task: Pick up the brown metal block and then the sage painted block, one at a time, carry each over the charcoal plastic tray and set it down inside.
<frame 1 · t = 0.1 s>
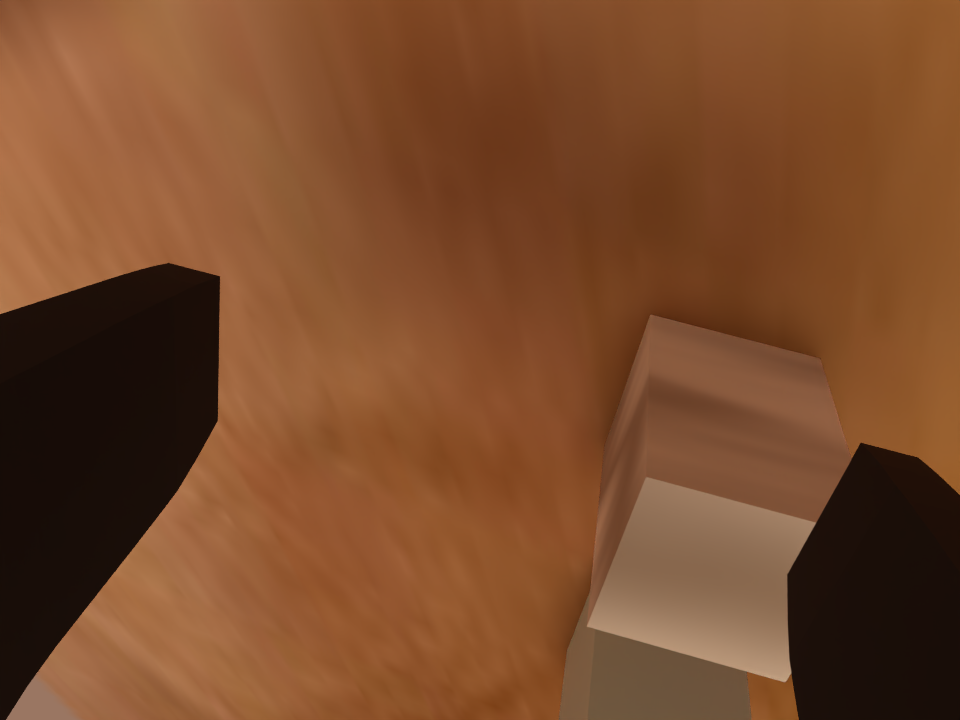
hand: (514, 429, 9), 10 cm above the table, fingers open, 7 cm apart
sage block: (648, 626, 25), on the table
brown metal block: (705, 404, 20), on the table
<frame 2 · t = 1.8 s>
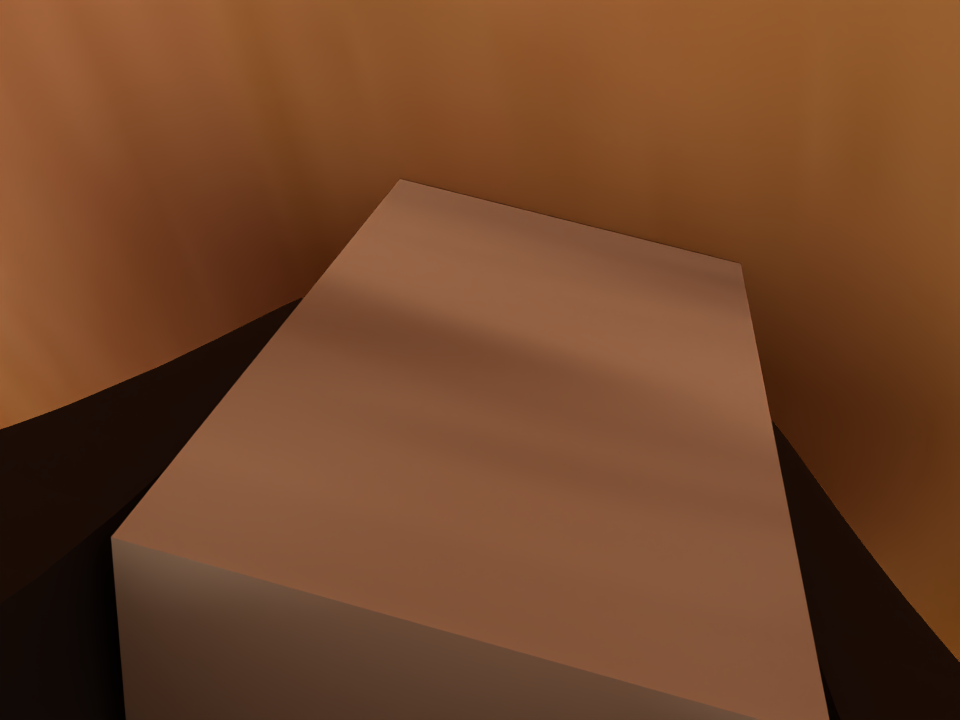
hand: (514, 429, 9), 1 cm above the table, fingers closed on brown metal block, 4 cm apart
brown metal block: (530, 364, 11), on the table, touching gripper
when the fingers open (4 cm above the table, at t = 5.4 s): brown metal block drops 1 cm, resting on tray.
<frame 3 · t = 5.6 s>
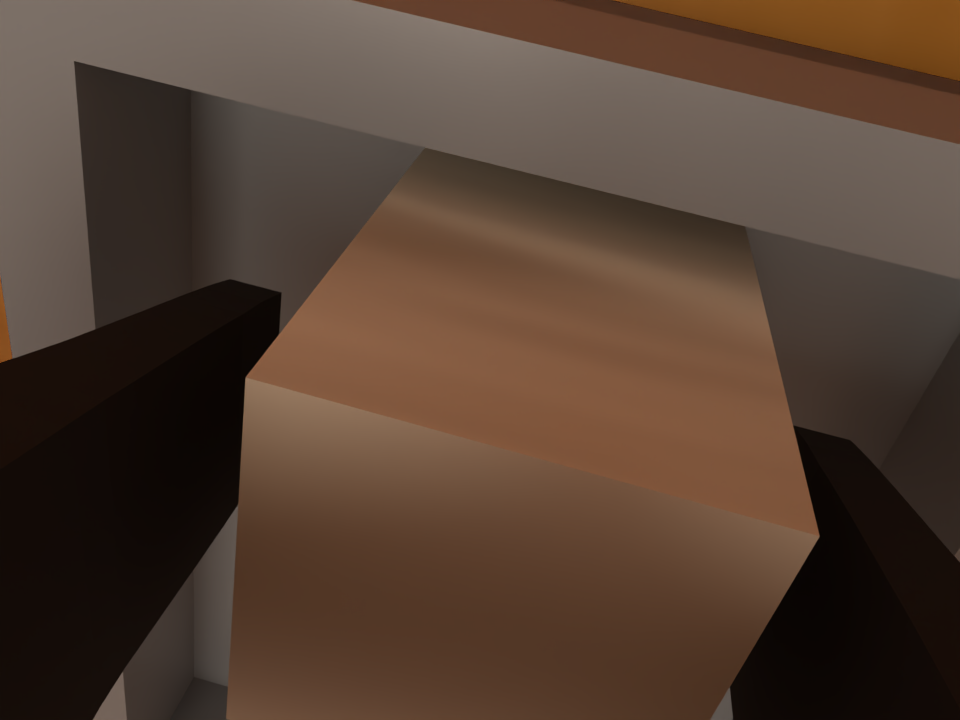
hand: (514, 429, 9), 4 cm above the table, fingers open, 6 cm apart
tray: (500, 476, 15), on the table
brown metal block: (550, 303, 12), point 1 cm above the table, touching tray
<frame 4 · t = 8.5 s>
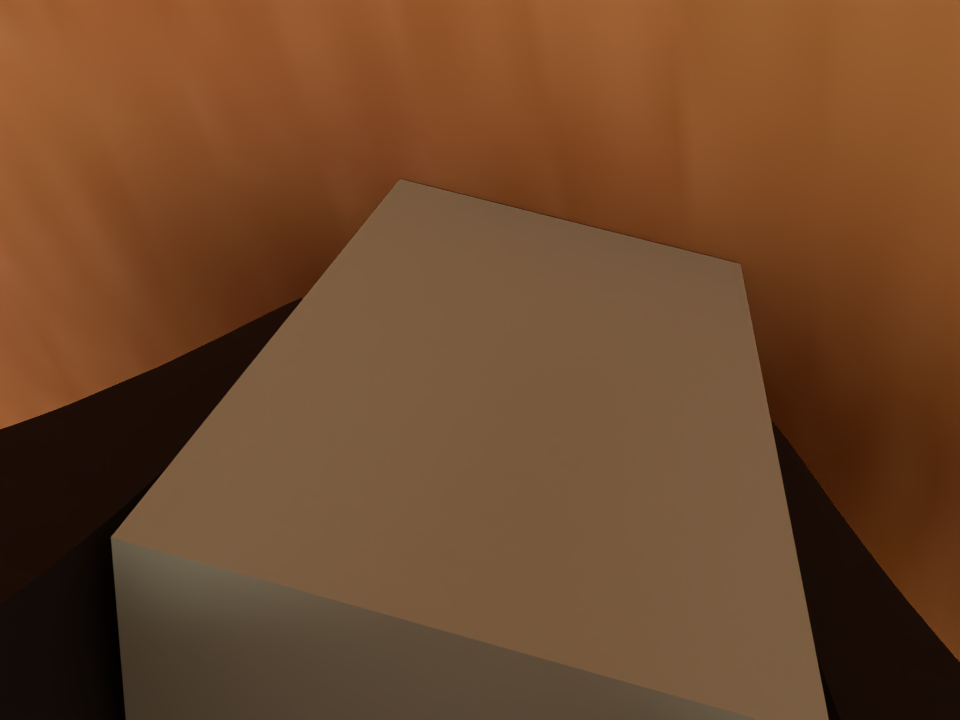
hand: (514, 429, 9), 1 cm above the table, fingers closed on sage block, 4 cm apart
sage block: (530, 364, 11), on the table, touching gripper
when the fingers open (4 cm above the table, at t = 12.1 s): sage block drops 1 cm, point 1 cm above the table.
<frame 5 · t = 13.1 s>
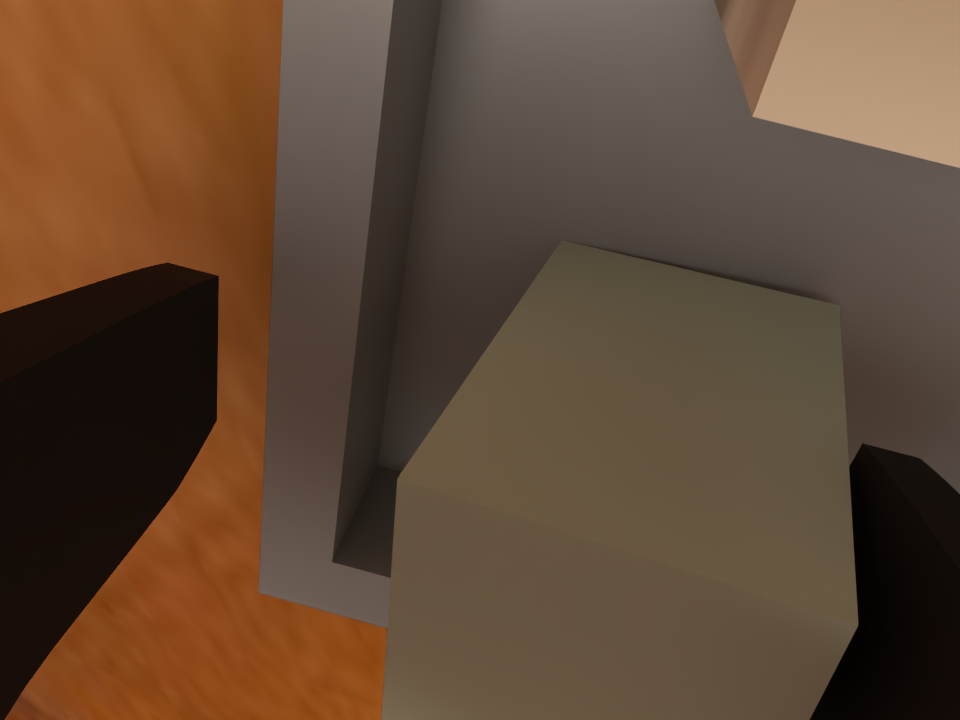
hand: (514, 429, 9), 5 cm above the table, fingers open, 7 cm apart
sage block: (664, 386, 13), point 1 cm above the table, tilted 8°, touching gripper
tray: (792, 165, 12), on the table
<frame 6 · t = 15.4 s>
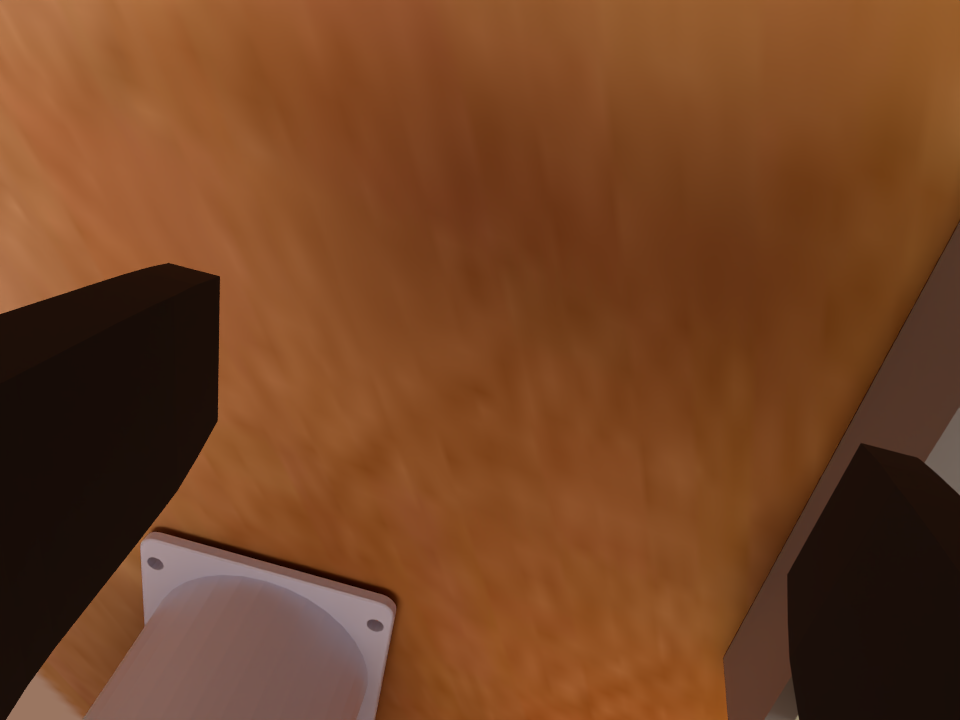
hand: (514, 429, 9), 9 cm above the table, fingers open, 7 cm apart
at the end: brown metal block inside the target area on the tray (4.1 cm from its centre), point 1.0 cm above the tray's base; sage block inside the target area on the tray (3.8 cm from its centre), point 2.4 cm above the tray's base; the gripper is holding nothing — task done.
